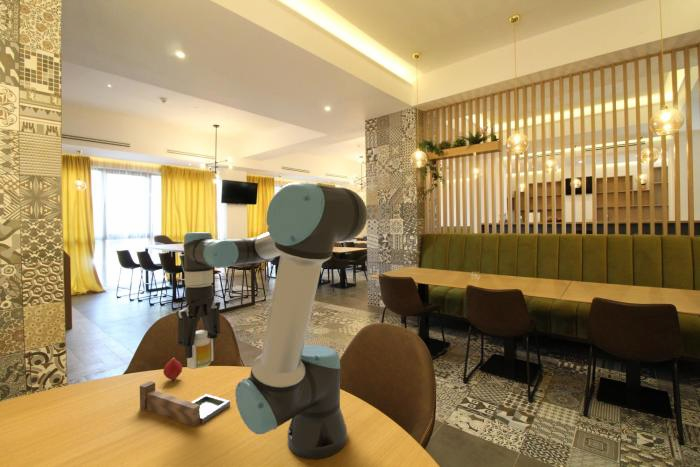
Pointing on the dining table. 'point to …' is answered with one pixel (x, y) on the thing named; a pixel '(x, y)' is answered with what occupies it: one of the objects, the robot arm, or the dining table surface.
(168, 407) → the door edge rail
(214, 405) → the socket
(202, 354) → the supplement bottle
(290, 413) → the robot arm
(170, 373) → the onion
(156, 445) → the dining table surface
